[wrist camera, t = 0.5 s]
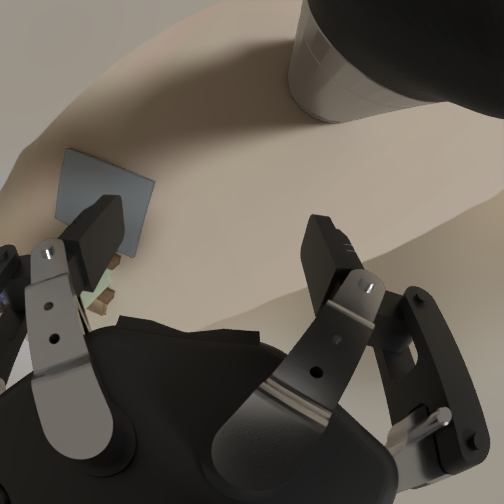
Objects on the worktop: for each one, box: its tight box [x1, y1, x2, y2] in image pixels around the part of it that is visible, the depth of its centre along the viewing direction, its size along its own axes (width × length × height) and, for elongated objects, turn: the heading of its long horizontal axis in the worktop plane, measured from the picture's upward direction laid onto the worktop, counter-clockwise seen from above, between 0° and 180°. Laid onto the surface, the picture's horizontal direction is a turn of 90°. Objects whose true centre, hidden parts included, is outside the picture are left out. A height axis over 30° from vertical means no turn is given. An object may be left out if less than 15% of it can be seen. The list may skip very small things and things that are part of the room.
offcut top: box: [86, 299, 105, 316], centre depth 35 cm, size 3×5×1 cm, turn 75°
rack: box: [96, 254, 121, 305], centre depth 32 cm, size 7×9×2 cm
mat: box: [55, 148, 156, 258], centre depth 29 cm, size 10×14×1 cm
